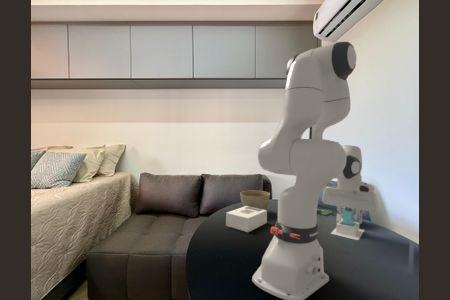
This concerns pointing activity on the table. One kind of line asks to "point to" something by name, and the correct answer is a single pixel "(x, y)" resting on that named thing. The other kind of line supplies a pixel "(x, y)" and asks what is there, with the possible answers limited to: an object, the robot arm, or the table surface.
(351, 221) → the plug
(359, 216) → the light bulb box
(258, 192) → the planter bowl
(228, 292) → the table surface
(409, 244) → the table surface
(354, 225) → the holster
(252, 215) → the white box
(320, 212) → the disk drive
